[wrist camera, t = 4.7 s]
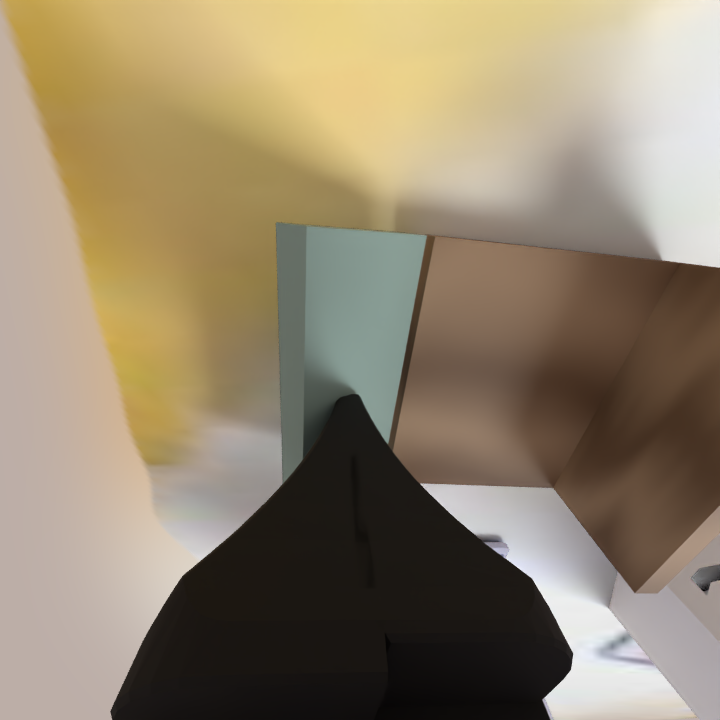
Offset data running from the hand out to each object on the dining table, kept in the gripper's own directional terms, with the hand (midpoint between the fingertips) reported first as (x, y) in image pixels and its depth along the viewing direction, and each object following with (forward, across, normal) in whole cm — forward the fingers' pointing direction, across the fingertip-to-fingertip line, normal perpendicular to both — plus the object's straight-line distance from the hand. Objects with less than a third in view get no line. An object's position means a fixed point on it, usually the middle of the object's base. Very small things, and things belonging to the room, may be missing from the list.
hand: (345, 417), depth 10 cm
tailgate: (+2, -2, 0) cm, 3 cm away
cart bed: (+4, -8, 0) cm, 9 cm away
